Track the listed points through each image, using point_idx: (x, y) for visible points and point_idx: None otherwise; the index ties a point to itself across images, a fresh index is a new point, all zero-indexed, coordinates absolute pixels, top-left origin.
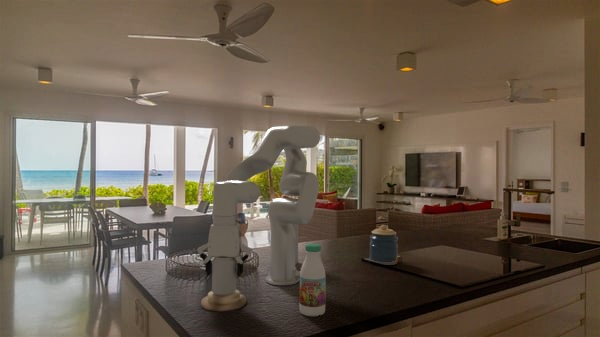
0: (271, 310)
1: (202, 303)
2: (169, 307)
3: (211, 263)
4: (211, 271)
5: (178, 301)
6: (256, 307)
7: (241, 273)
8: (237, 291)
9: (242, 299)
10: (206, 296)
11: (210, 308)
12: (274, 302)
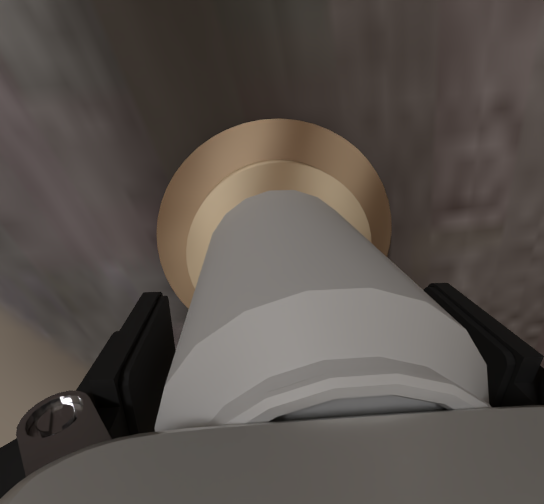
0: (489, 297)
1: (187, 304)
2: (40, 318)
3: (139, 377)
4: (164, 312)
5: (29, 243)
6: (430, 274)
7: (445, 284)
8: (354, 219)
9: (371, 232)
10: (163, 207)
11: None
12: (518, 206)
